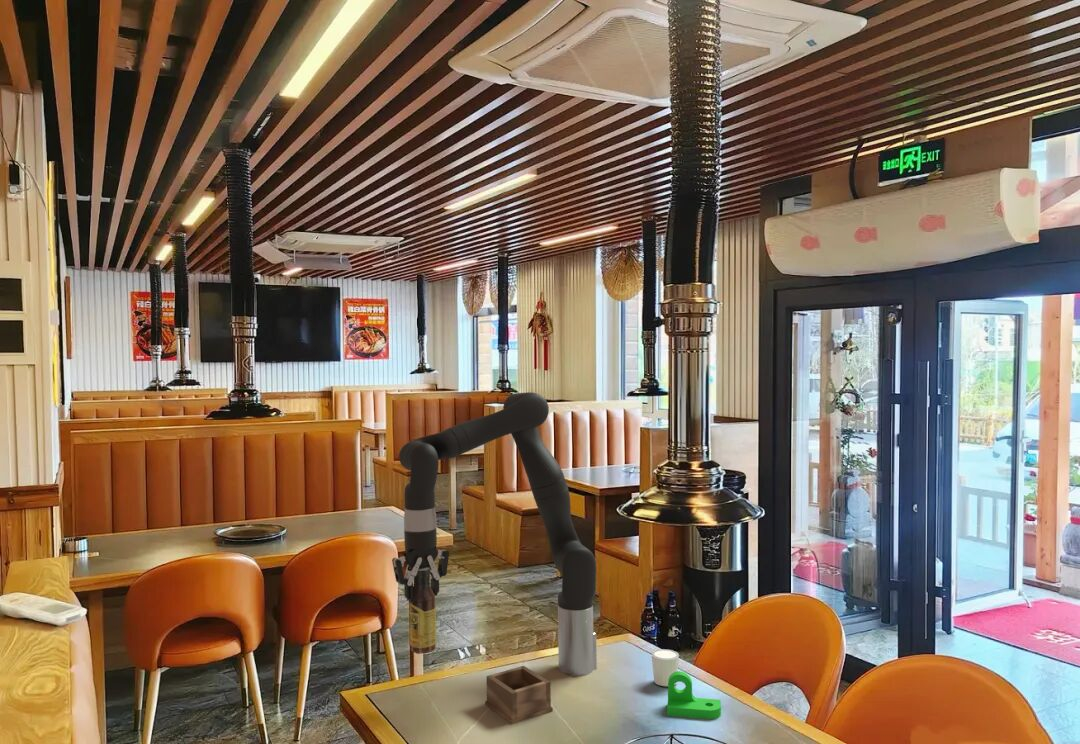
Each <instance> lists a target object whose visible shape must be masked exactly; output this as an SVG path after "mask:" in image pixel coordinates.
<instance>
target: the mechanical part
mask: <svg viewBox="0 0 1080 744" xmlns="http://www.w3.org/2000/svg"><path fill="white" fill-rule="evenodd" d="M676 682H677V683H678V682H681V683H683V684H684V686H685V687H684V688H683V689H679V688H677V687H676V686H675V685H676V684H677V683H676ZM675 683H676V684H675ZM674 684H675V685H674ZM666 706H667V707H666V711H667V712H666V714H667V715H666V716H670V717H671V716H673V717H682V718H692V719H693V718H695V719H705V720H715V719H716V720H717V719H719V718H720V717H721V716H722V715H721V714H722V701H721V699H719V698H718V699H715V698H703V697H702V698H701V697H696V696H695V695H693V682H692V678H691V676H690V675H689V674H688V673H686V672H685V671H682V670H680V671H679V670H678V671H677V672H674V673H672V674H671V675H670V677H669V680H668V686H667V705H666Z"/></svg>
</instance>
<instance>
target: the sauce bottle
mask: <svg viewBox="0 0 1080 744" xmlns="http://www.w3.org/2000/svg"><path fill="white" fill-rule="evenodd" d="M430 579H431V576H430V567H426V568H422V569H418V571H417V574H416V576H415V577H414V580H413V601H408V634H409V640H408V642H409V646H410V648H409V649H410V651H411V652H412V653H415V654H417V655H421V654H427V653H431V652H433V651H434V650H435V649H436V644H437V643H436V642H437V635H436V634H437V628H436V627H437V624H436V623H437V621H436V618H437V617H436V616H437V613H436V596H435V595H434V592H433V590H432V589H431V584H430Z"/></svg>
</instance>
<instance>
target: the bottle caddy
mask: <svg viewBox="0 0 1080 744" xmlns="http://www.w3.org/2000/svg"><path fill="white" fill-rule="evenodd" d="M485 677H486V700H485V701H484V705H485V706H486V705H487V706H486V707H488V708H489V709H491V710H492V711H493V712H495V713H496V714H497V715H499V716H500V717H501V718H503V719H504V720H506V721H507V722H508V723H510V724H511V725H513V724H517V723H520V722H524V721H526V720H530V719H533V718H536V717H540V716H542V715H543V716H544V715H546V714H551V713H553V712H554V711H553V709H554V708H553V707H552V698H551V695H552V693H551V692H552V691H551V689H552V688H551V687H552V685H551V681H550V680H548V679H546V678H545V677H543V676H541V675H540V674H538V673H536V672H534V671H533V670H532V669H530V668H528V667H527V666H525V665H520V666H518V667H515V668H510V669H507V670H504V671H500V672H497V673H493V674H490V675H486V676H485Z"/></svg>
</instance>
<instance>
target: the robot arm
mask: <svg viewBox="0 0 1080 744" xmlns="http://www.w3.org/2000/svg"><path fill="white" fill-rule="evenodd" d="M549 409H550V408H549V404H548V401H547V400H546V398H545V397H544V396H542V395H541V394H539V393H537V392H531V391H530V392H516V393H512V394H511V395H509V396H507V397H506V399H505V401H504V403H503V407H502V409H501V410H499V411H495V412H494V413H490V414H487V415H484V416H481V417H480V416H479V417H476V418H473V419H470V420H466V421H463V422H461V423H458V424H455V425H453V426H451V427H449V428H446V429H444V430H442V431H440V432H437V433H433V434H430V435H425V436H422V437H418V438H416V439H413V440H410V441H409V442H407V443H405V444H404V445H403V446H402V447H401V449H400V451H399V453H398V461H399V463H400V465H401V466H402V467H403V468H404V469H406V470H408V471H410V477H409V479H410V480H409V483H407V484H406V485H405V486H404V492H403V493H404V497H403V498H404V512H403V513H404V515H403V530H404V531H403V534H404V535H403V536H404V541H403V542H404V553H403V555H402V556H400V557H393V558H392V560H391V562H392V566H393V571H394V576H395V577H394V578H395V581H396V583H397V584H400V585H403V588H404V589H403V590H404V598H405V599H407V601H408V602H409V601H413V586H414V577H415V576H416V574H417V571H418V569H422V568H426V567H430V587H431V589H432V590H433V592H434V595H435V597H437V596H438V594H439V592H440V580H441V578H442V577H446V576H447V574H448V573H447V572H448V571H447V570H448V565H449V557H450V551H448V550H447V549H443V548H442V549H438V548H437V545H438V543H437V542H438V540H437V538H438V537H437V535H438V534H437V532H438V531H437V524H438V523H437V513H436V506H435V505H436V503H435V502H436V500H435V499H436V498H435V487H436V483H437V477H438V474H439V473H438V472H439V471H438V470H439V464H440V463H439V461H440V460H444V459H445V460H449V459H454V458H457V457H459V456H462V455H463V454H465V453H468V452H470V451H472V450H474V449H476V448H478V447H481V446H483V445H485V444H488V443H490V442H492V441H495V440H497V439H499V438H502V437H505V436H508V435H510V434H511V436H512V439H513V441H514V442H515V445H516V448H517V450H518V453H519V455H520V456H519V457H520V459H521V463H522V465H523V468H524V470H525V473H526V476H527V480H528V483H529V487H530V490H531V492H532V496H533V499H534V502H535V503H536V504H535V505H536V506H537V509H538V512H539V515H540V517H541V520H542V522H543V524H544V527H545V529H546V533H547V537H548V540H549V541H548V542H549V546H550V550H551V555H552V560H553V562H554V563H553V564H554V566H555V568H556V569H557V571H558V572H559V573H560V574H561V576H562V577H561V581H562V582H561V592H560V591H559V593H558V596H557V627H558V628H557V630H558V631H557V633H558V634H557V637H558V640H557V641H558V642H557V643H558V646H557V647H558V670H559V671H560V672H561V673H563V674H565V675H566V676H573V677H582V676H588V675H590V674H593V672H594V671H595V670H597V669H598V665H597V664H598V659H597V657H598V654H597V649H598V648H597V645H598V643H597V633H596V632H595V631H594V598H595V596H596V588H597V587H596V586H597V585H596V584H597V565H596V557H595V555H594V554H593V551H591V550H590V549H589V548H587V547H586V546H584V545H583V544H582V542H581V541H580V539H579V537H578V534H577V532H576V530H575V527H574V524H573V520H572V512H571V509H572V506H571V496H570V491H569V487H568V484H567V480H566V478H565V475H564V473H563V469H562V468H561V466H560V464H559V462H558V461H557V460H556V458H555V457H554V455H553V454H552V453H551V452H550V450H549V449H548V448H547V446H546V445H545V443H544V440H543V439H542V438H541V433H540V431H539V428H538V427H540V426H541V425H542V424H544V422H546V420H547V418H548V417H549ZM437 558H438V565H437V566H436V564H435V561H436V559H437ZM405 562H406V564H407V566H406V568H405V574H404V569H403V567H404V565H405Z"/></svg>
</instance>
